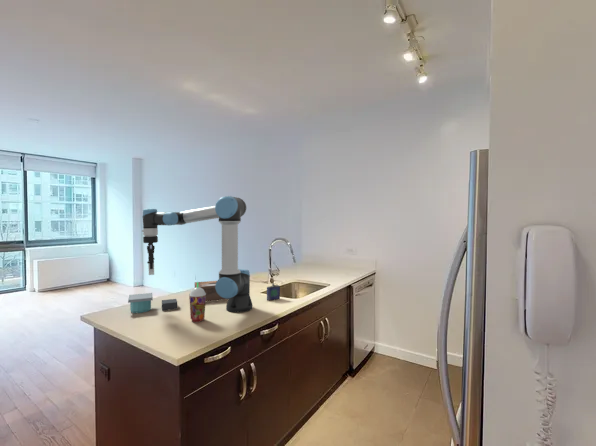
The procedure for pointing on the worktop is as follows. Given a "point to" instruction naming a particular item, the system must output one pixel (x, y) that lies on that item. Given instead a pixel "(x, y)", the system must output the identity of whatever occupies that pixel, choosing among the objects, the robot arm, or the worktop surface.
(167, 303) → the dark grey square block
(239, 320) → the worktop surface
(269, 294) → the blue box
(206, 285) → the tissue box cover
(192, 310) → the smoothie
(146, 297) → the grey flat square slab
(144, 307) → the bowl
